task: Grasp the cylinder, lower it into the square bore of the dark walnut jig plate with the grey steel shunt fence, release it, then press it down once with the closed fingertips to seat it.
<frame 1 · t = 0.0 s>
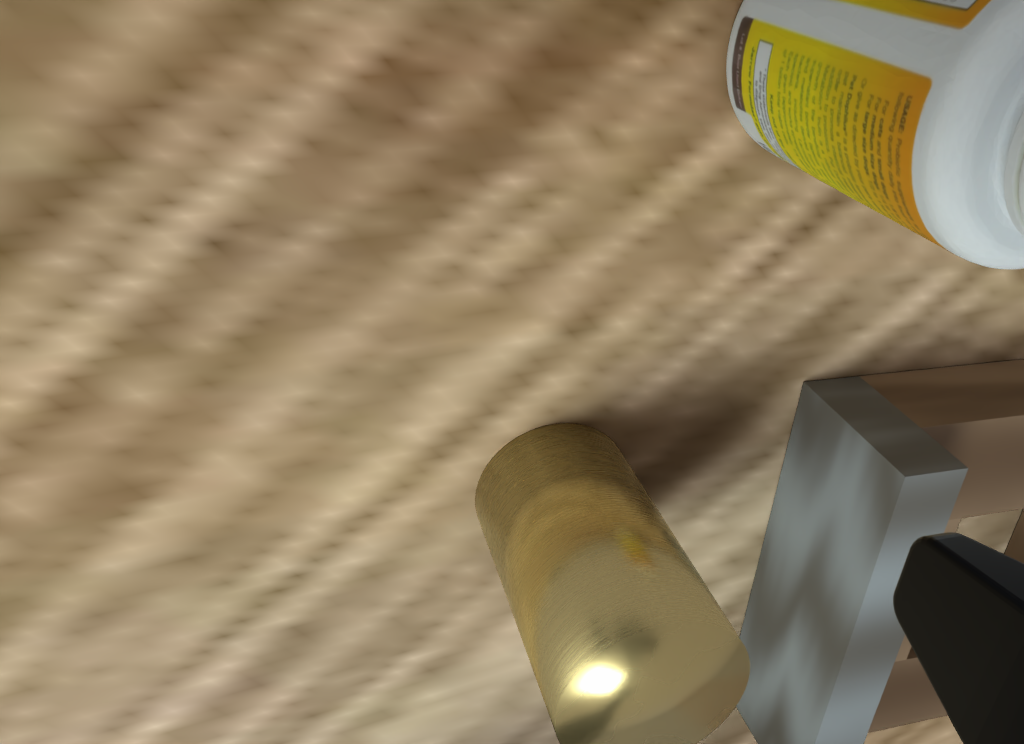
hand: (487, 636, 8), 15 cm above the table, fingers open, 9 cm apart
supplement bottle: (814, 41, 22), on the table
jig: (951, 523, 33), on the table
cylinder: (551, 489, 27), on the table
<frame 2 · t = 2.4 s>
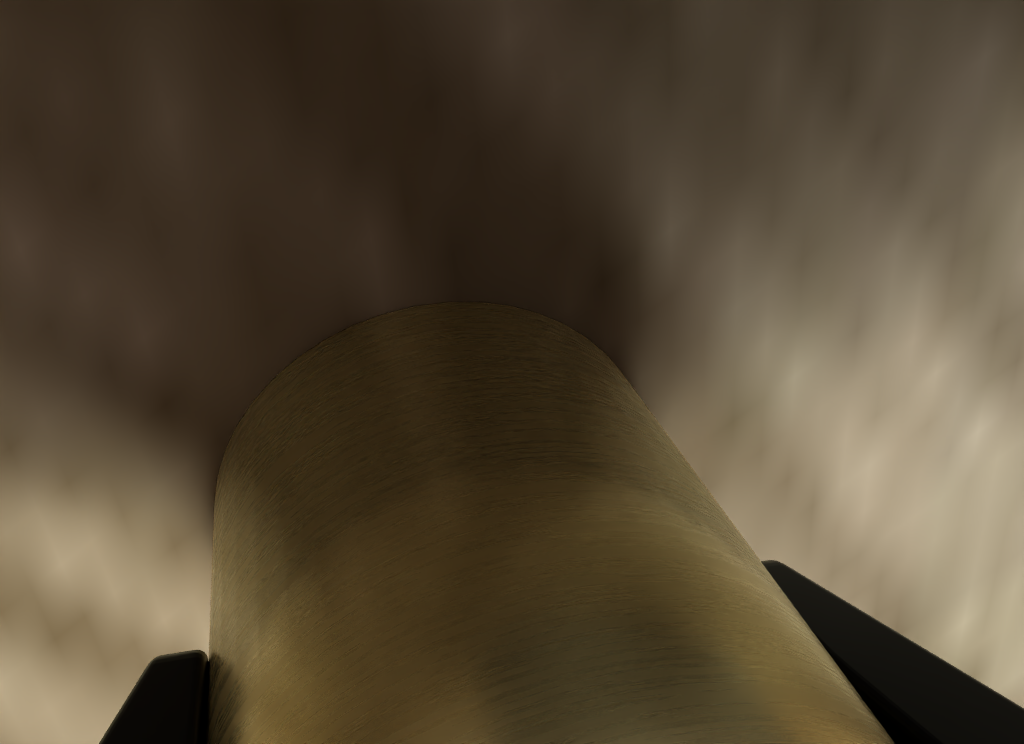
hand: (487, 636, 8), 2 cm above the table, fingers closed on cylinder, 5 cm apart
cylinder: (443, 498, 10), on the table, touching gripper
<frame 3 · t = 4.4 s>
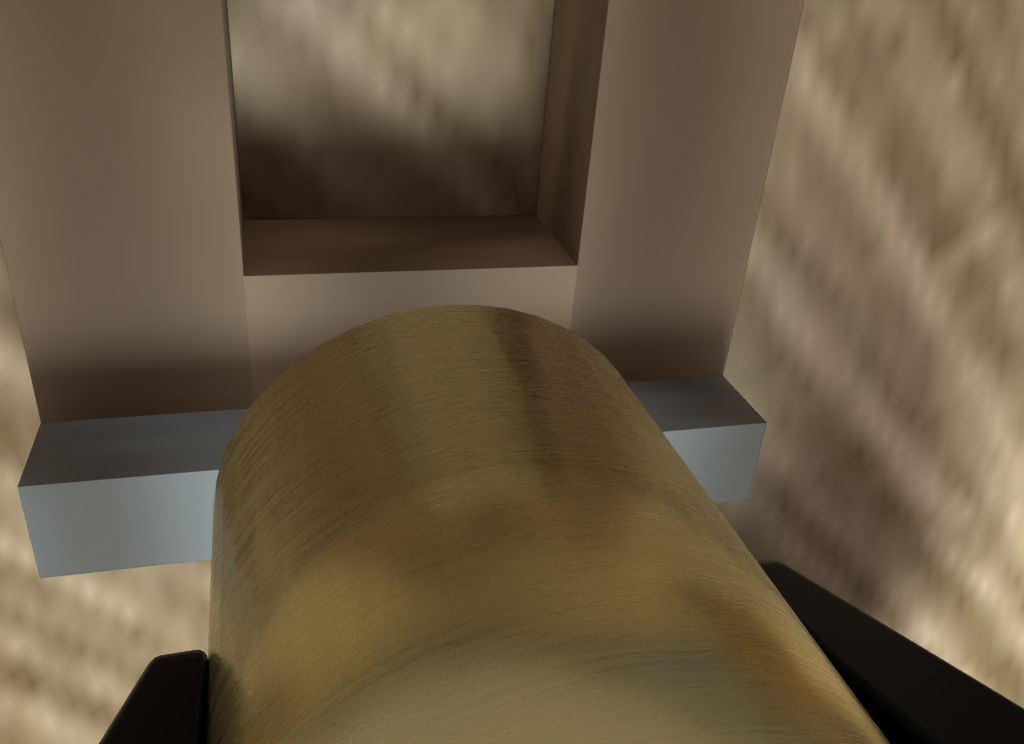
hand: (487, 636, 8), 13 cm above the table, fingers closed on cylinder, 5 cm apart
jig: (397, 65, 18), on the table
cylinder: (442, 501, 10), point 11 cm above the table, touching gripper
when the fingers open (4 cm above the table, at t = 6.6 s): cylinder drops 2 cm, resting in jig.
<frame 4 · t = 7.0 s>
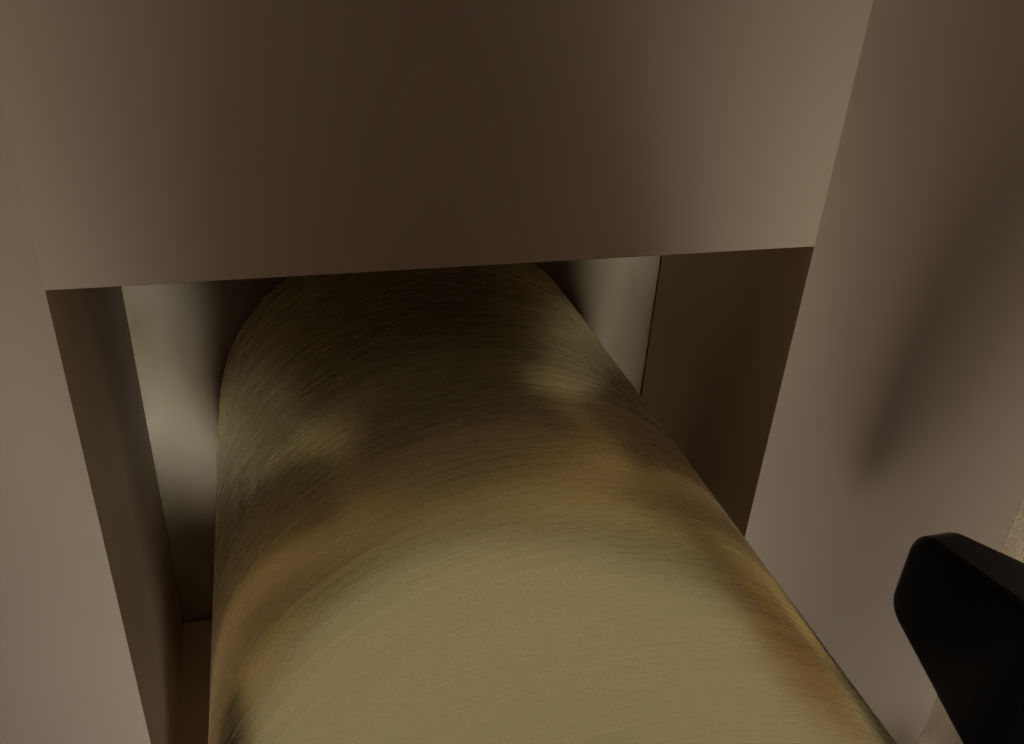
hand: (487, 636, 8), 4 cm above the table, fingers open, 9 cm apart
jig: (413, 404, 11), on the table
cylinder: (414, 404, 11), resting in jig
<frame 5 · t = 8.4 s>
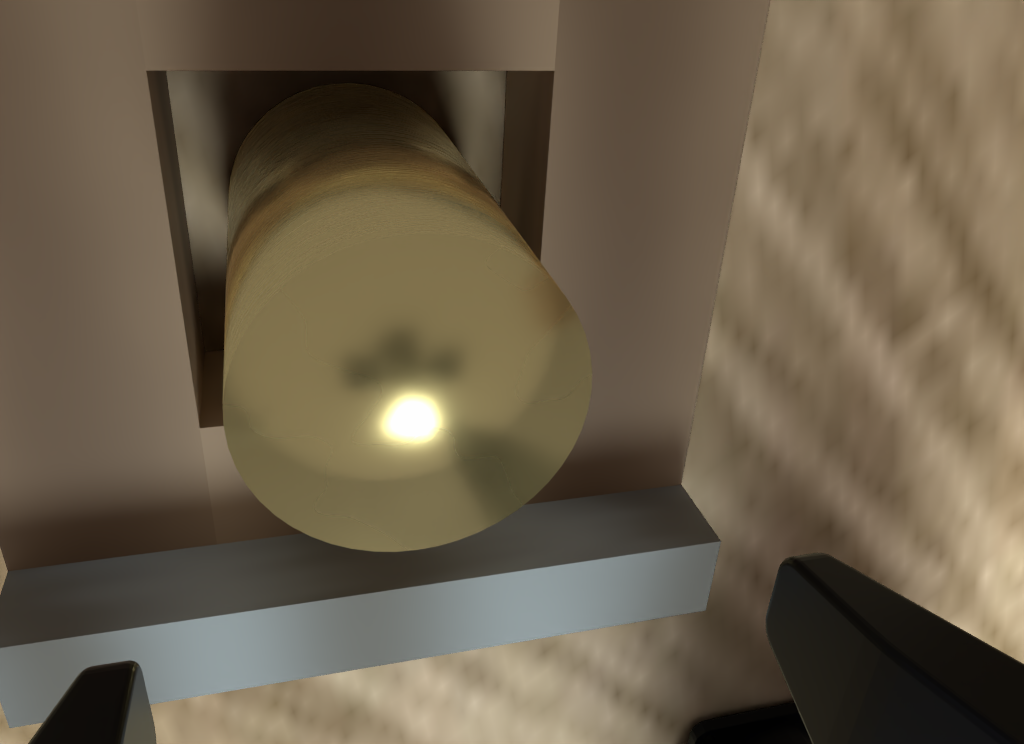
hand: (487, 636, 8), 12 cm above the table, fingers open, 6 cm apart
jig: (350, 202, 18), on the table
cylinder: (351, 203, 18), resting in jig
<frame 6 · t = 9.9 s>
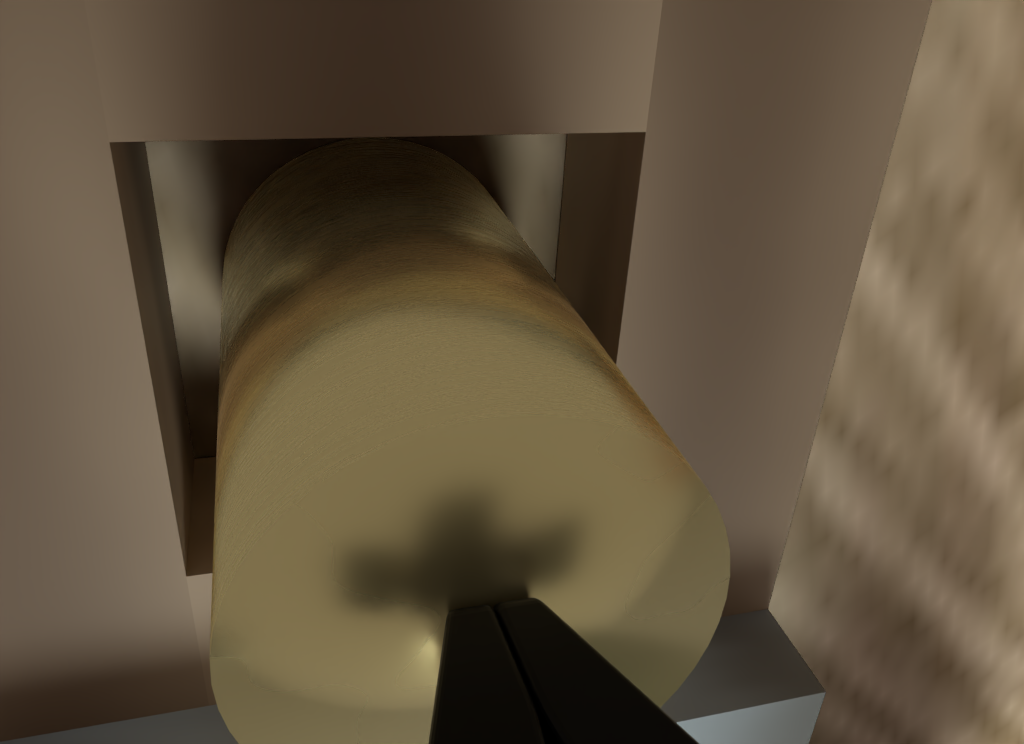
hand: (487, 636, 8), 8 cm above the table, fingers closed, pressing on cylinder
jig: (373, 280, 15), on the table
cylinder: (374, 281, 15), resting in jig, touching gripper
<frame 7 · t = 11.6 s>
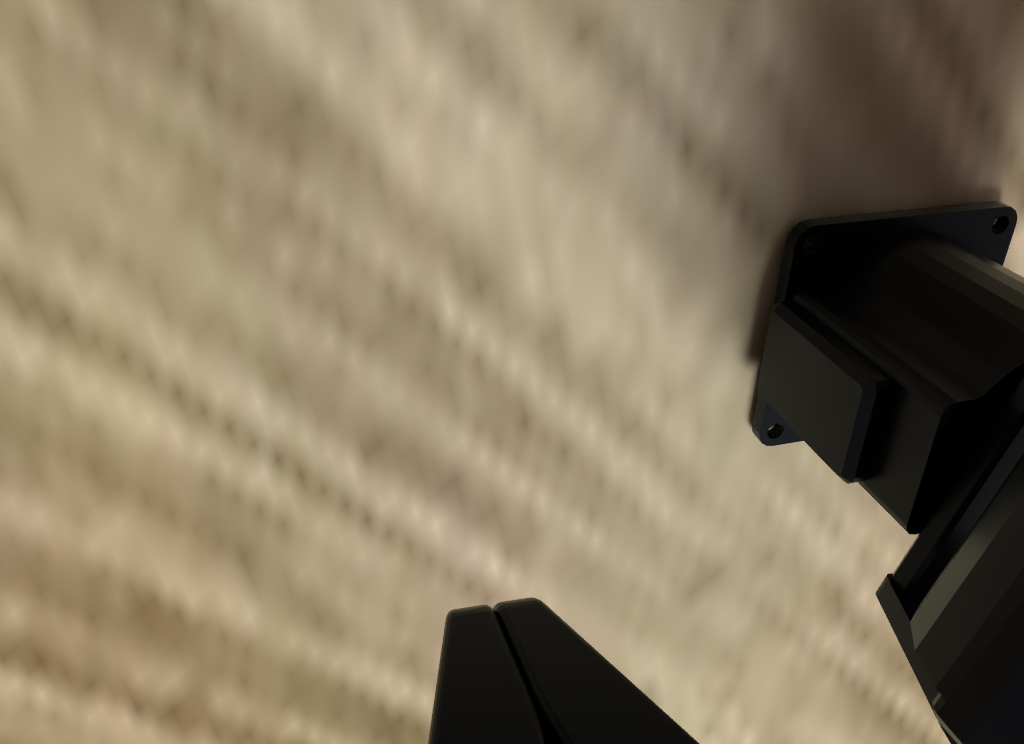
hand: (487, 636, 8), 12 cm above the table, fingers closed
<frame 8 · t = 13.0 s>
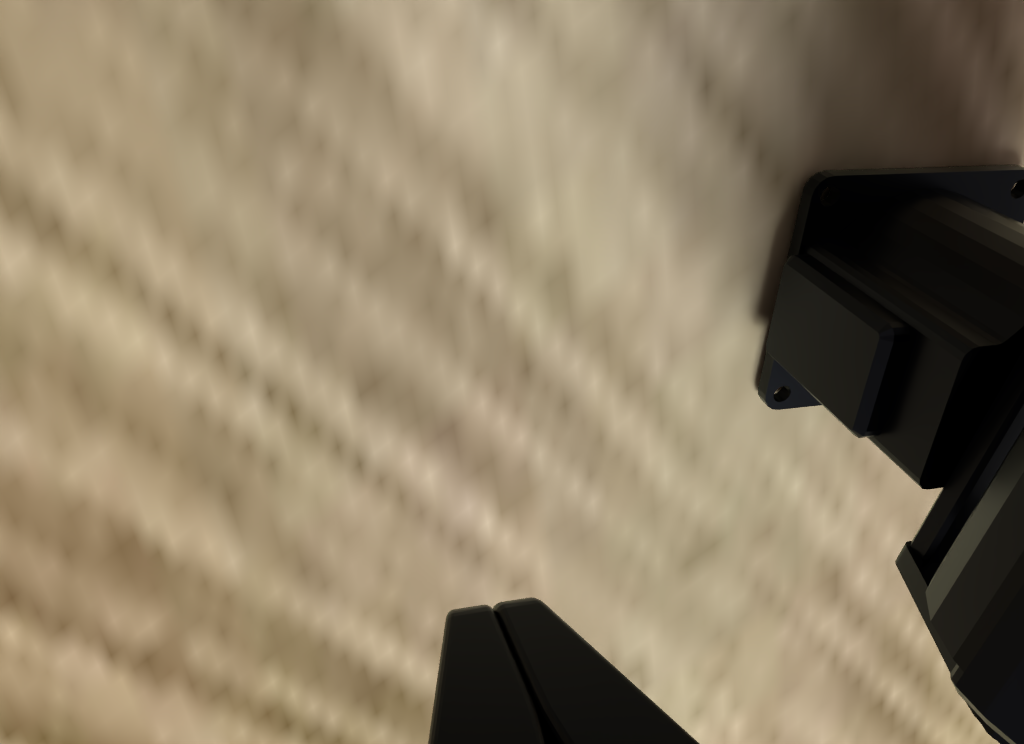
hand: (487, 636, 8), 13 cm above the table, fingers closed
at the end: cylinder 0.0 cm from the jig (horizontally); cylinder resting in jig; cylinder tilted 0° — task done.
